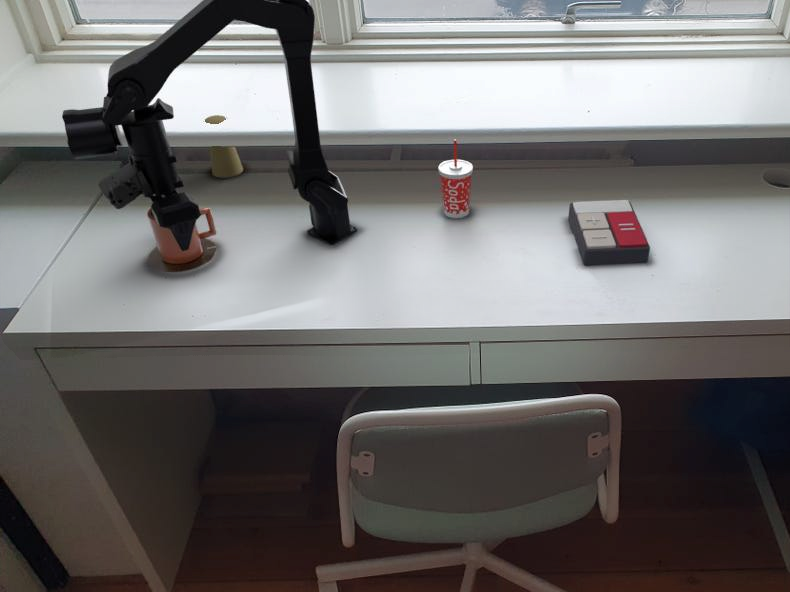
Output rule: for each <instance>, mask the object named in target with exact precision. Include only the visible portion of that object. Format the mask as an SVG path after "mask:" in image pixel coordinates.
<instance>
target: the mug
mask: <svg viewBox="0 0 790 592" xmlns="http://www.w3.org/2000/svg"><path fill="white" fill-rule="evenodd" d="M199 210H200V214H201V216H204V215H205V218H206V222H207V226H208V230H205V231H203V232H199V229H198V225H197V222H196V223H195V226H194V230H193V234H192V238H191V242H190V246H189V249H188V250H186V251H182V250H181V249H180V247H179V245H178V243H177V241H176V240H175V238H174V236H173V234H172V232H171V231H170V229H168V228H162V227H160V226H159V225H158V223H157V221H156V220H155V217H154V215H153V212H152V209H151V207H150V208H149V209H148V210H147V213H146V216H147V219H148V222H149V225H150V228H151V231H152V234H153V238H154V240H155V243H156V247H158V250H159V253H160V256H161V258H162V260H163V261H165V262H167V263H171V264H182V263H187V262H190V261H193V260H195V259H196V258H198V257H199V256H200V255H201V254H202V252H203V246H202V243H201V239H204V238H205V239H208V238H211V237H214V236H216V235H217V228H216V225H215V221H214V216H213V213H212V209H211V208H210V207H209V206H208V207H203V208H199Z"/></svg>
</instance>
